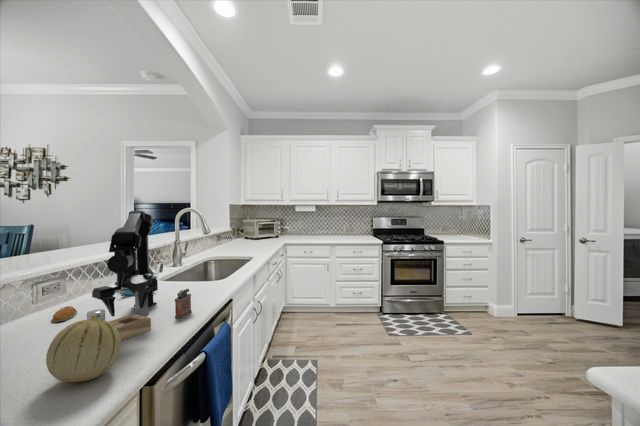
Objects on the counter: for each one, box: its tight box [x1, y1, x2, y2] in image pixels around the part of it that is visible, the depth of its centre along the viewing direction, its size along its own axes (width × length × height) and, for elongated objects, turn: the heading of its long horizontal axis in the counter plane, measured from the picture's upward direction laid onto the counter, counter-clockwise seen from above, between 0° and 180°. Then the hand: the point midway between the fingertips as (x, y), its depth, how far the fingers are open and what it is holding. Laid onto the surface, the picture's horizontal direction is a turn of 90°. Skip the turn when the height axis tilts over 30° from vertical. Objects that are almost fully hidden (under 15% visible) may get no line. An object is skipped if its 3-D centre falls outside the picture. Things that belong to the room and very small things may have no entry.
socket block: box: [108, 313, 152, 342], centre depth 101 cm, size 10×10×4 cm
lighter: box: [174, 288, 192, 320], centre depth 117 cm, size 8×3×10 cm, turn 168°
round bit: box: [86, 308, 106, 321], centre depth 105 cm, size 5×5×6 cm
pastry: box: [52, 305, 78, 323], centre depth 114 cm, size 9×7×4 cm
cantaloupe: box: [45, 315, 122, 383], centre depth 74 cm, size 15×15×15 cm
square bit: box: [134, 291, 149, 317], centre depth 117 cm, size 3×3×10 cm
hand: (127, 311), depth 101 cm, fingers open, 9 cm apart
